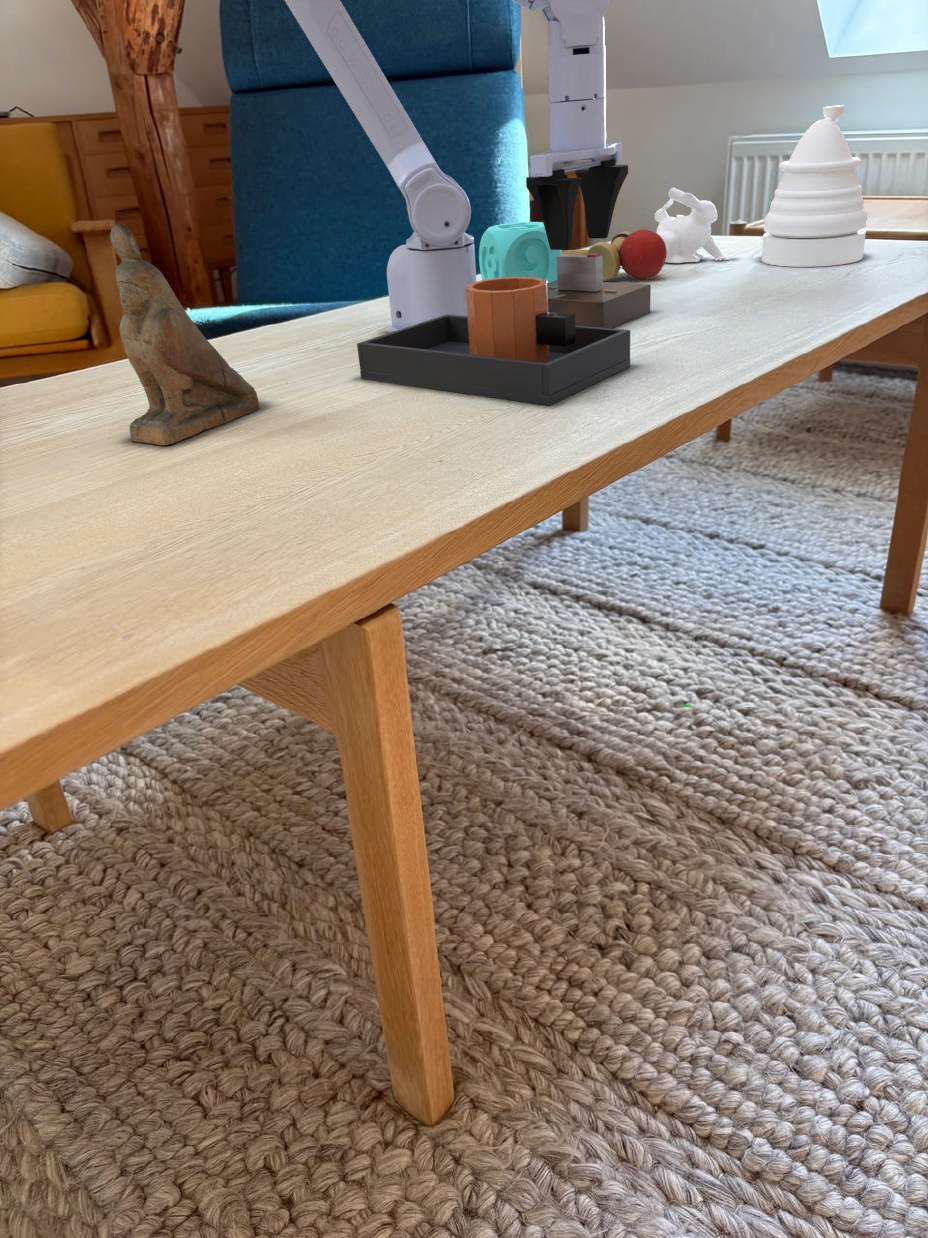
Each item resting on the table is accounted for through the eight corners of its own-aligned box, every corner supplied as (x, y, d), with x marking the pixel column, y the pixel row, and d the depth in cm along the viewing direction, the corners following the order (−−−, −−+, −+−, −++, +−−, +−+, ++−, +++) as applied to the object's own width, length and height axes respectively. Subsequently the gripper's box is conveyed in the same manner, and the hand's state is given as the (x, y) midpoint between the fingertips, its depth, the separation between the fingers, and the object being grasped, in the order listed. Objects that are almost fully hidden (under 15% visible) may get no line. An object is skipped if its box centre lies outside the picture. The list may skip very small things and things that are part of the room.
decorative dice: (537, 285, 128) (534, 219, 124) (563, 293, 122) (562, 225, 118) (480, 293, 126) (476, 226, 122) (504, 302, 119) (500, 232, 116)
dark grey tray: (360, 378, 92) (356, 343, 90) (448, 346, 101) (446, 314, 99) (549, 405, 80) (548, 364, 78) (630, 366, 89) (630, 329, 87)
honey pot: (797, 248, 139) (809, 105, 130) (882, 254, 130) (900, 101, 121) (741, 262, 132) (750, 112, 124) (827, 269, 123) (842, 108, 115)
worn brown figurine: (176, 475, 79) (82, 252, 68) (132, 465, 82) (35, 249, 70) (273, 405, 86) (202, 192, 74) (229, 398, 88) (155, 192, 77)
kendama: (531, 289, 133) (646, 275, 121) (529, 239, 131) (646, 221, 120) (564, 289, 138) (678, 277, 127) (562, 241, 137) (677, 224, 125)
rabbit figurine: (734, 258, 135) (738, 182, 130) (707, 268, 130) (711, 189, 125) (657, 255, 142) (659, 183, 138) (630, 264, 137) (630, 189, 133)
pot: (456, 369, 88) (450, 289, 85) (501, 351, 93) (498, 275, 90) (548, 381, 83) (546, 295, 79) (592, 361, 87) (591, 280, 84)
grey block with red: (557, 289, 108) (556, 253, 106) (564, 287, 109) (563, 251, 107) (596, 291, 105) (595, 255, 103) (602, 289, 106) (602, 253, 104)
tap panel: (510, 323, 109) (508, 294, 107) (559, 305, 115) (558, 277, 114) (603, 331, 102) (603, 300, 100) (650, 312, 108) (651, 282, 107)
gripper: (571, 102, 91) (574, 255, 98) (647, 93, 101) (645, 233, 107) (510, 106, 95) (517, 253, 102) (589, 98, 105) (590, 232, 111)
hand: (579, 243), depth 105 cm, fingers open, 7 cm apart
